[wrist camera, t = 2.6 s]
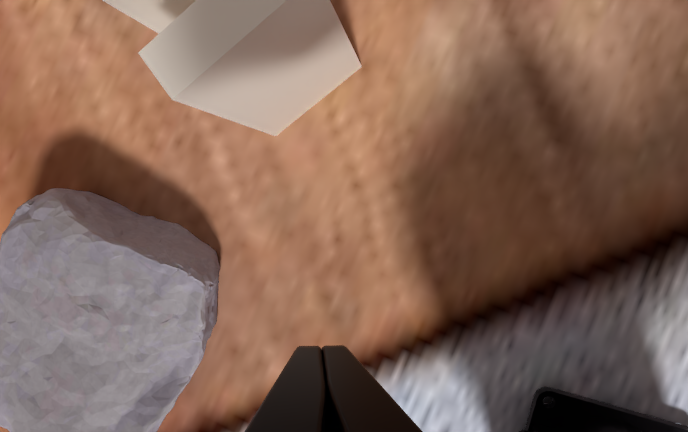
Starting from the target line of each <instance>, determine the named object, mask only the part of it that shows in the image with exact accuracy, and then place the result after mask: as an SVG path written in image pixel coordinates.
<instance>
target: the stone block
mask: <svg viewBox="0 0 688 432" xmlns="http://www.w3.org/2000/svg"><path fill="white" fill-rule="evenodd" d="M219 270H220V265H219V262H218V257H217V253H216V251H215V250H214V249H212V248H211V247H210V246H209V245H208V244H206V243H204V242H202V241H201V240H199V239H198V238H197V237H195V236H194V235H193V234H192V233H190V232H189V231H188V230H187V229H185V228H183V227H182V226H181V225H179V224H177V223H171V222H168V221H163V220H160V219H156V218H155V217H154V216H141V215H139V214H137V213H135V212H132V211H130V210H129V209H128V208H126V207H124V206H122V205H121V204H119V203H117V202H114V201H112V200H109V199H107V198H105V197H102V196H99V195H97V194H94V193H92V192H89V191H86V192H85V191H77V190H71V189H63V188H53V189H50V190H47V191H46V192H45V193H43V194H41V195H36V196H35V197H34V198H32V199H31V200H28V201H27V202H26V203H24V204H23V205H21V206H20V207H18V208H17V210H16V212H15V214H14V215H13V217H12V219H11V222H10V224H9V226H8V227H7V229H6V230H5V231H4V233H3V234H2V238H1V241H0V426H1V427H3V428H6V429H8V430H9V431H10V432H157V430H158V428H159V426H160V425H161V423H162V421H163V420H164V418H165V416H166V415H167V414H168V413H169V412H170V410H171V409H172V408H173V407H174V405H175V402H176V400H177V398H178V396H179V395H180V393H181V392H182V391H183V389H184V388H185V386H186V385H187V384H188V383H189V382H190V380H191V377H192V375H193V374H194V372H195V370H196V369H197V367H198V365H199V364H200V362H201V360H202V358H203V356H204V352H205V348H206V343H207V340H208V339H209V337H210V336H211V332H212V329H213V327H214V326H215V324H216V321H217V296H218V283H219V281H218V276H219Z"/></svg>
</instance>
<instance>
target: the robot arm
mask: <svg viewBox="0 0 688 432" xmlns="http://www.w3.org/2000/svg"><path fill="white" fill-rule="evenodd" d="M545 397H552V398H553V400H552V402H551V403H549V404H544V403H543V399H544V398H545ZM245 432H422V431H421V430H420V428H419V427H418V426H417V425H416V424H415V423H414V422H413V421H412V420H411V418H410V417H409V416H408V415H407V414H406V413H405V412H404V411H403V410H402V409H401V407H400V406H399V405H398V404H397V403H396V402H395V401H394V400H393V399H392V397H391V396H390V395H389V394H388V393H387V392H386V391H385V390H384V389H383V387H382V386H381V385H380V384H379V383H378V382H377V381H376V380H375V379H374V377H373V376H372V375H371V374H370V373H369V372H368V371H367V370H366V369H365V367H364V366H363V365H362V364H361V363H360V362H359V361H358V360H357V359H356V357H355V356H354V355H353V354H352V353H351V352H350V351H349V350H348V349H347V348H346V347H345V346H342V345H339V346H324V347H322V350H321V348H320V347H319V346H299V347H297V348H296V350H295V351H294V353H293V355H292V356H291V358H290V359H289V361H288V363H287V364H286V366H285V367H284V369H283V371H282V372H281V374H280V375H279V377H278V379H277V380H276V382H275V384H274V385H273V387H272V388H271V390H270V392H269V393H268V395H267V396H266V398H265V400H264V401H263V403H262V404H261V406H260V408H259V409H258V411H257V413H256V414H255V416H254V417H253V419H252V421H251V422H250V424H249V425H248V427H247V429H246V430H245ZM519 432H688V427H687V426H683V425H680V424H676V423H673V422H669V421H666V420H662V419H659V418H655V417H652V416H648V415H645V414H641V413H638V412H634V411H631V410H627V409H624V408H620V407H617V406H613V405H610V404H606V403H603V402H599V401H596V400H592V399H589V398H585V397H582V396H578V395H575V394H571V393H568V392H564V391H561V390H557V389H554V388H550V387H542V388H540V389H538V390H537V391H536V393H535V395H534V399H533V402H532V406H531V409H530V413H529V416H528V419H527V423H526V426H525V430H523V429H522V430H521V431H519Z"/></svg>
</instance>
